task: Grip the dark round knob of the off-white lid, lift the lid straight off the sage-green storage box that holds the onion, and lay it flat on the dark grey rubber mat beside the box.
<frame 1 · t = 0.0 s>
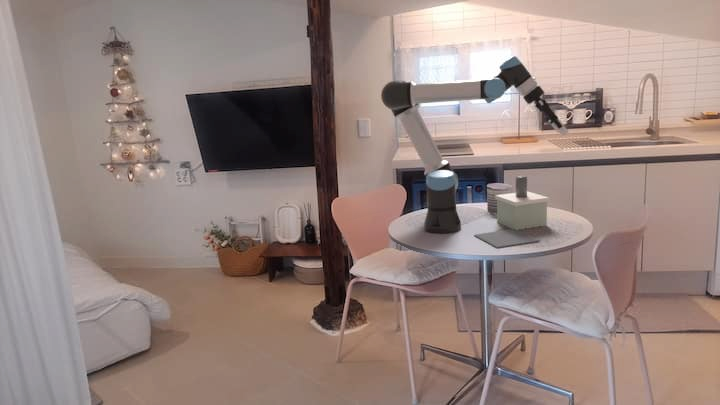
hand: (563, 132, 194), 36 cm above the table, tool tilted 35°, fingers open, 13 cm apart
mat: (505, 238, 182), on the table
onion: (521, 224, 200), resting in box
lid: (521, 201, 198), point 9 cm above the table, touching box
box: (521, 223, 200), on the table
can: (499, 211, 224), on the table
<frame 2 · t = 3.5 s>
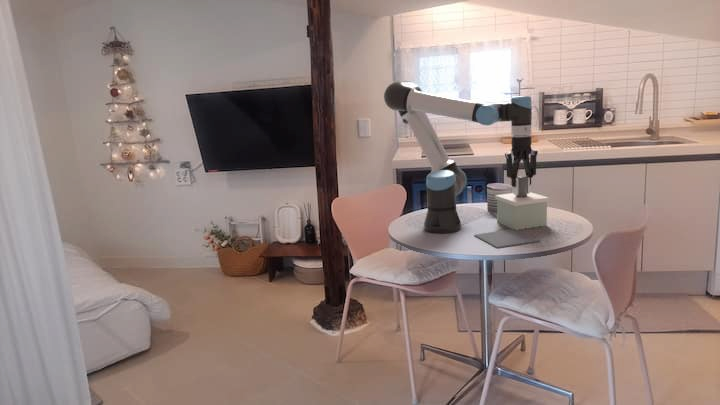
hand: (521, 193, 197), 13 cm above the table, tool pointing down, fingers closed on lid, 4 cm apart
lid: (521, 201, 198), point 9 cm above the table, touching box, gripper
everything else where it was.
when the fingers open (6 cm above the table, at t = 10.0 s): lid drops 2 cm, resting on mat.
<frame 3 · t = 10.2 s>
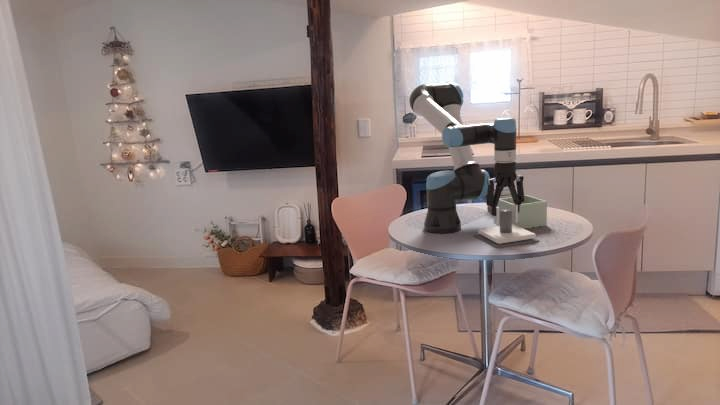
hand: (505, 222, 181), 6 cm above the table, tool pointing down, fingers open, 7 cm apart
lid: (505, 237, 182), resting on mat
everything else where it was.
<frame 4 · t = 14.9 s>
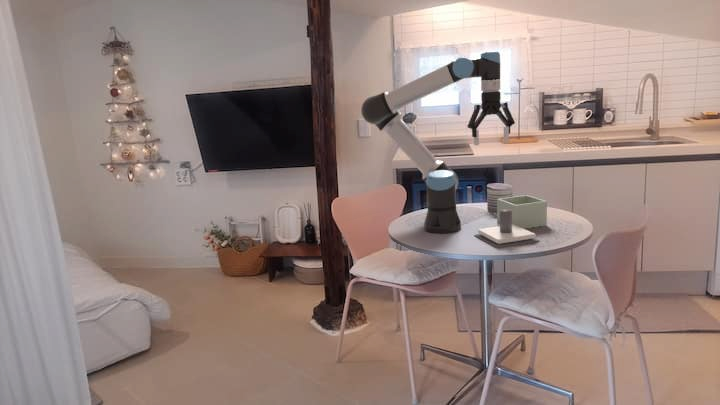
hand: (491, 143, 202), 33 cm above the table, tool pointing down, fingers open, 13 cm apart
nothing on the table moved.
at the end: lid inside the target area on the mat (0.1 cm from its centre), point 0.5 cm above the mat's base; lid tilted 0°; the gripper is holding nothing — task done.
